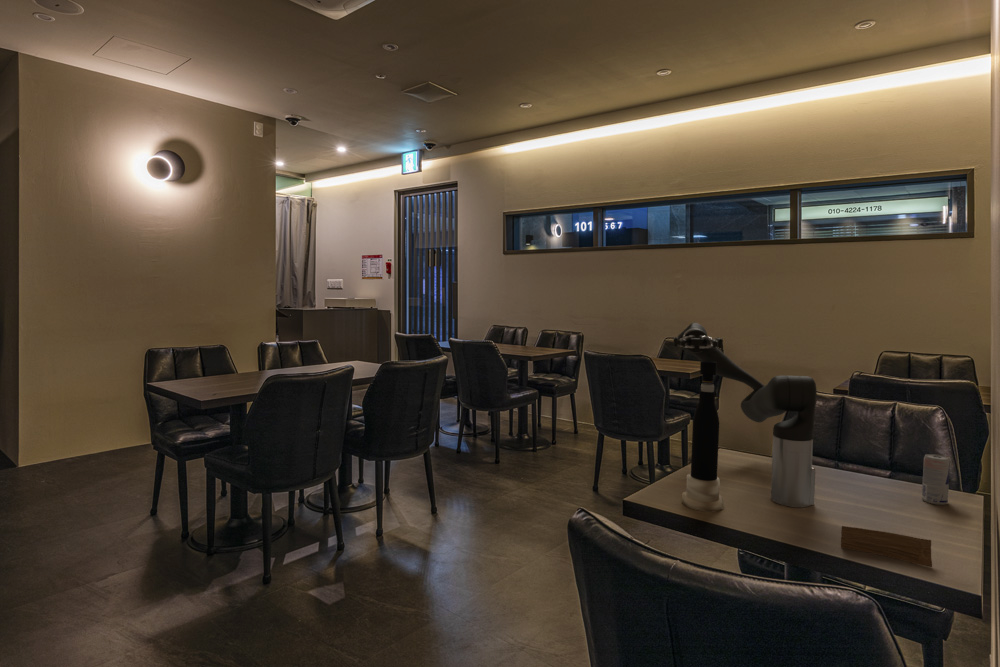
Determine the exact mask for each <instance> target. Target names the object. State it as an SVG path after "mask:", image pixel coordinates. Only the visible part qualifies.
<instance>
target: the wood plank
mask: <svg viewBox="0 0 1000 667" xmlns="http://www.w3.org/2000/svg"><path fill="white" fill-rule="evenodd" d="M840 530H841V537H840V548H841V549H847V550H853V551H858V552H864V553H868V554H873V553H874V555H879V556H884V557H889V558H892V559H896V560H900V561H904V562H910V563H912V564H916V565H921V566H924V567H929V568H933V560H932V540H931V539H925V538H919V537H914V536H909V535H905V534H904V535H903V534H899V533H894V532H887V531H880V530H874V529H867V528H862V527H851V526H843V525H841V529H840Z"/></svg>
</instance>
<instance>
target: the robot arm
mask: <svg viewBox="0 0 1000 667" xmlns="http://www.w3.org/2000/svg"><path fill="white" fill-rule="evenodd" d="M723 345H724V339H723V338H720V337H715V338H713V337H712V336H708V333H707V330H706V329H705V327H704V326H703V325H701V324H700V323H698V322H692V323H690V324H689V325H688V326H687V327H686V328H685V329H684V330H682V331H681V333H679V334H678V335H677V336H674V337H673V346H672V347H679V348H680V349H681V350H682V351H685V352H687V353H689V354H691V355H692V356H694V357H695V358H697V359H698V360H700V362H701V361H712V362H717V365H716V375H717V376H719V377H722V378H726V379H729V380H733V381H737V382H740V383H742V384H745V385H747V386H749V387H750V388H751V389H752V391H751V392H750V393H749V394H748V395H746V397H744V398H743V399H742V400H741V403H740V409H741V411H742V413H743V414H744V415H745V416H746V417H747V418H748V419H749V420H751V421H753V422H755V423H763V422H764V421H766V420H767V419H769V418H772V417H777V416H780V415H783V414H785V413H786V412H797V413H796V415H794V416H793V417H792V418H791V417H790V418H789V419H786V420H784V421H779V422H777V423H775V424H774V425H773V428H772V433H773V434H772V455H771V457H772V458H771V459H772V461H771V485H770V486H771V487H770V488H771V490H770V499H771V500H772V501H773V502H774V503H777V504H779V505H781V506H787V507H791V508H807V507H809V506H814V505H815V496H816V495H815V493H816V492H815V491H816V490H815V488H816V468H815V467H813V446H814V444H813V443H814V442H813V441H814V430H815V415H816V403H817V385H816V382H815V379H814V378H813V377H811V376H806V375H776V376H773V377H771V379H770V380H769V381H768V382H767V384H763V383H762V382H761V381H760V380H758V379H756V378H755V377H754V376H753V375H752V374H750V373H749V372H747V371H746V370H744V369H743V368H742V367H740V366H739V365H738V364H736V363H735V362H734V361H733V360H732V359H730V358H729V357H728V356H727V355H726V354H725V353H724V352H723V351H721V350H720V348H724V346H723Z"/></svg>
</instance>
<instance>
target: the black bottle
mask: <svg viewBox="0 0 1000 667" xmlns="http://www.w3.org/2000/svg"><path fill="white" fill-rule="evenodd" d="M716 365H717V362H712V361H701V360H700V365H699V366H700V367H699V371H700V372H699V374H700V375H702V383H701V385H700V390H699V393H698V394H699V395H698V396H699V398H698V404H697V406H696V409H695V411H694V415H693V419H692V433H691V434H692V435H691V436H692V437H691V457H690V458H691V462H690V463H691V464H690V474H691V476H692V477H693V478H696V479H699V480H706V481H712V480H716V479H717V477H718V465H719V464H718V463H719V445H720V444H719V442H720V441H719V440H720V418H719V417H720V416H719V412H718V410H717V405H716V392H715V384H714V376H716V375H717V374H716Z"/></svg>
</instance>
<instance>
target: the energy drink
mask: <svg viewBox="0 0 1000 667" xmlns="http://www.w3.org/2000/svg"><path fill="white" fill-rule="evenodd" d="M950 464H951V462H950V459H949V457H947V456H945V455H939V454H934V453H931V454H930V453H929V454H927V453H926V454H924V457H923V468H922V469H923V472H922V487H921V488H922V491H921V492H922V493H921V495H922V496H921V499H922V500H923V501H924V502H925V503H927V504H932V505H937V506H946V505H947V504H948V503H949V486H950V484H949V482H950V466H951V465H950Z"/></svg>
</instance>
